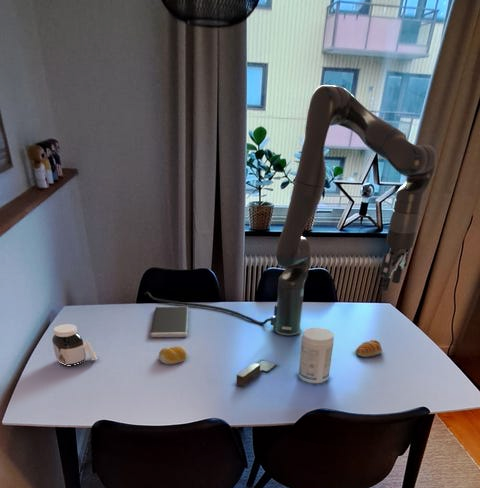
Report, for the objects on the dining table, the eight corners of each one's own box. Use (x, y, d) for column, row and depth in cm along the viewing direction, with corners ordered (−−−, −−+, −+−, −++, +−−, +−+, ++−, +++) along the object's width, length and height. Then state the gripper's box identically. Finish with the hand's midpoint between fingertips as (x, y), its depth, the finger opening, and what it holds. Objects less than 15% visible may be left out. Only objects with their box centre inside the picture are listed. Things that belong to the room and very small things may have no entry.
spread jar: (53, 360, 156) (45, 327, 149) (83, 350, 163) (77, 317, 156) (73, 373, 150) (65, 338, 143) (103, 361, 156) (98, 328, 150)
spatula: (246, 388, 144) (247, 378, 142) (232, 383, 146) (232, 373, 144) (276, 365, 156) (277, 356, 154) (262, 361, 159) (263, 352, 157)
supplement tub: (319, 368, 156) (325, 325, 147) (334, 381, 148) (340, 337, 140) (292, 372, 153) (297, 329, 144) (306, 386, 146) (311, 342, 137)
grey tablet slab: (188, 310, 195) (188, 306, 194) (187, 337, 173) (187, 333, 172) (155, 310, 194) (155, 306, 193) (150, 338, 172) (150, 333, 171)
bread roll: (190, 360, 158) (190, 349, 156) (166, 366, 154) (165, 355, 152) (179, 351, 164) (178, 340, 162) (155, 357, 160) (154, 346, 157)
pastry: (365, 360, 161) (367, 350, 159) (350, 353, 165) (351, 343, 163) (382, 353, 166) (385, 342, 164) (367, 346, 170) (369, 336, 168)
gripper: (399, 222, 140) (387, 277, 149) (379, 230, 130) (368, 289, 140) (424, 226, 136) (410, 283, 146) (405, 235, 127) (392, 295, 136)
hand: (389, 286), depth 143 cm, fingers open, 8 cm apart
